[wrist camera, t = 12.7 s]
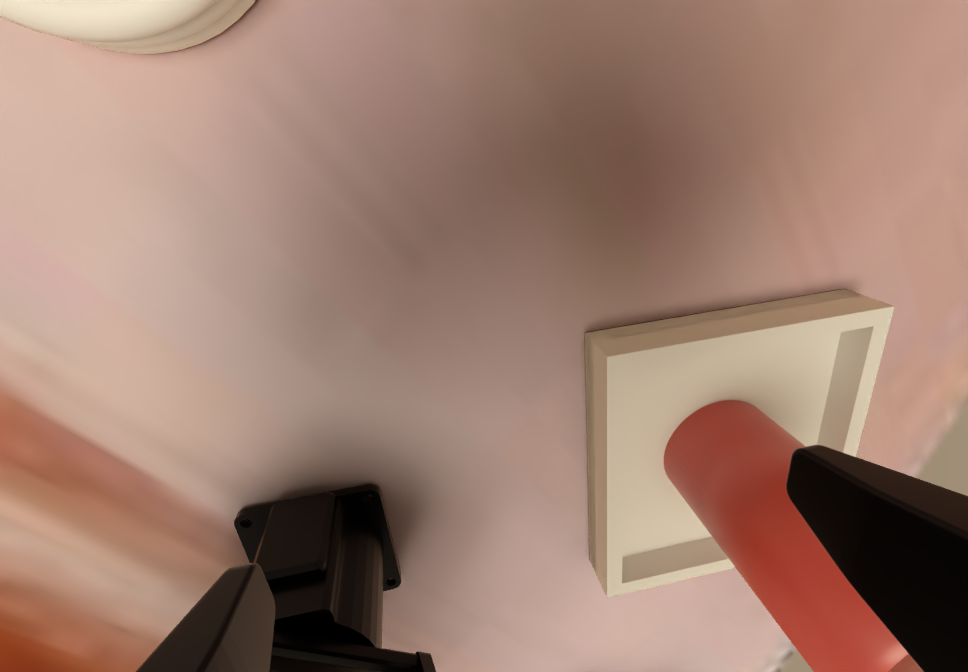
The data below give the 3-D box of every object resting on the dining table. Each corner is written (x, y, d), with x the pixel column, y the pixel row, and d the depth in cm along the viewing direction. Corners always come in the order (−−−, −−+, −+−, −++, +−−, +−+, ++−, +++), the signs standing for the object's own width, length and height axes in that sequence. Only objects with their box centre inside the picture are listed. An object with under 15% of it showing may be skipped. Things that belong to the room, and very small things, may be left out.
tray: (798, 511, 29) (832, 544, 27) (589, 559, 27) (607, 598, 25) (845, 288, 23) (894, 306, 21) (584, 333, 22) (606, 357, 19)
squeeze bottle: (751, 490, 26) (1118, 874, 13) (653, 496, 25) (937, 916, 12) (783, 399, 24) (1267, 745, 10) (677, 401, 23) (1059, 784, 9)
